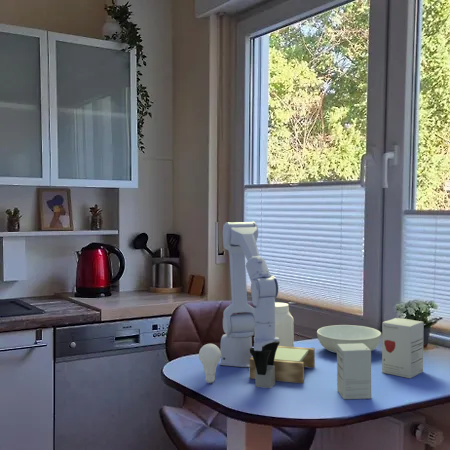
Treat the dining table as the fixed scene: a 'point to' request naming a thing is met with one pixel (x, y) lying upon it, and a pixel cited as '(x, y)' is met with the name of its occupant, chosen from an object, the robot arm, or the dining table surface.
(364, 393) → the supplement box
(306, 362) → the hatch frame
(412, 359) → the supplement box
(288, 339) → the jar
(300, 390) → the dining table surface
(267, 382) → the gray block
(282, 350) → the hatch
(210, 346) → the lightbulb
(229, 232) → the robot arm
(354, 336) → the serving bowl
